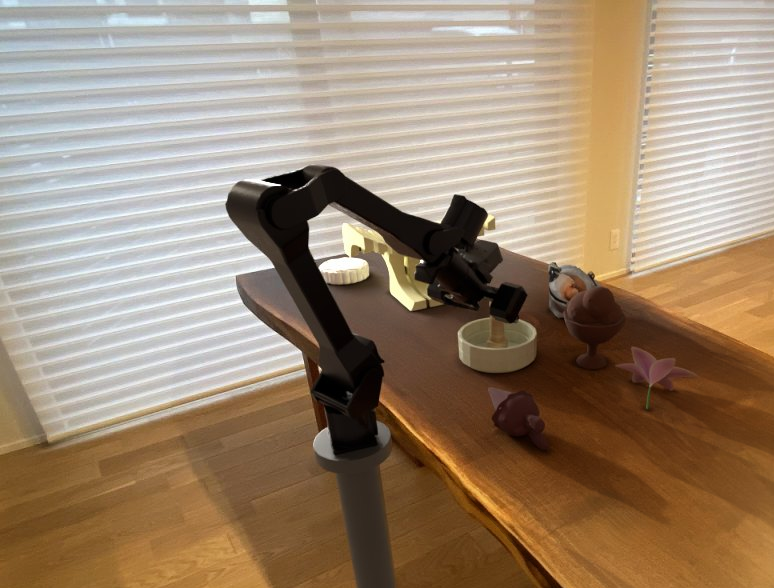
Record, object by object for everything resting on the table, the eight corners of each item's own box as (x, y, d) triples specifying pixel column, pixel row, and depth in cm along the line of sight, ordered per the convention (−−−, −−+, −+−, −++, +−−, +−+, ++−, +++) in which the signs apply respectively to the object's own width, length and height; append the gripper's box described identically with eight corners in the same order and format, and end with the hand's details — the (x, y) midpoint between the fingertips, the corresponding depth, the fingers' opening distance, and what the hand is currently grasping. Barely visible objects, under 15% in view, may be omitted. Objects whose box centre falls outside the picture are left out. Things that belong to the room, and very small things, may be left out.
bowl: (474, 381, 107) (473, 355, 105) (449, 348, 119) (448, 324, 117) (548, 365, 112) (549, 341, 110) (518, 335, 124) (517, 312, 121)
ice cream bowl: (630, 357, 115) (637, 280, 108) (605, 382, 107) (611, 301, 99) (579, 344, 120) (582, 270, 112) (551, 367, 112) (553, 289, 104)
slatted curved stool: (466, 273, 157) (463, 202, 148) (496, 292, 145) (495, 216, 136) (351, 295, 144) (340, 219, 135) (373, 319, 132) (363, 236, 123)
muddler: (506, 358, 113) (505, 297, 108) (485, 357, 114) (483, 296, 108) (509, 349, 117) (508, 290, 111) (489, 348, 117) (487, 289, 111)
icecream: (464, 382, 94) (518, 435, 84) (504, 360, 96) (562, 409, 86) (474, 414, 98) (526, 468, 88) (512, 392, 101) (567, 442, 90)
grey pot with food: (623, 315, 132) (619, 270, 120) (577, 345, 130) (569, 302, 119) (581, 277, 140) (574, 232, 129) (538, 305, 138) (527, 262, 127)
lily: (702, 412, 100) (706, 353, 100) (661, 411, 92) (666, 346, 92) (640, 407, 108) (644, 352, 108) (598, 404, 100) (602, 346, 100)
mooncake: (310, 278, 154) (308, 264, 153) (348, 266, 163) (346, 252, 161) (341, 288, 148) (339, 274, 146) (379, 275, 156) (377, 261, 154)
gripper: (520, 238, 95) (558, 286, 108) (433, 220, 105) (478, 266, 118) (489, 301, 93) (531, 342, 106) (404, 276, 103) (452, 317, 116)
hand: (497, 314), depth 112 cm, fingers open, 9 cm apart
